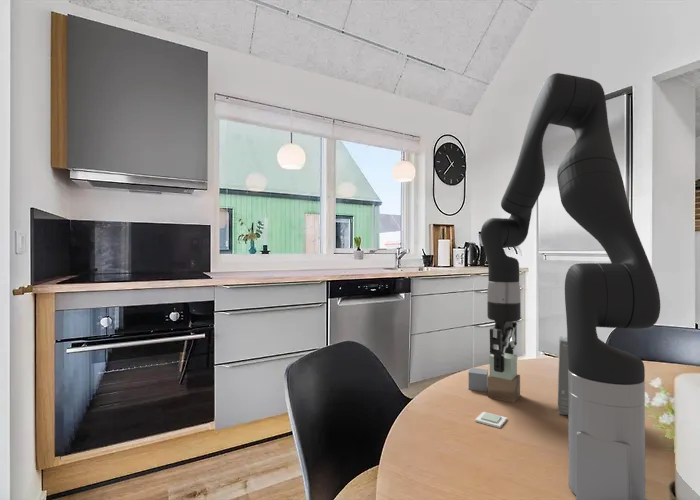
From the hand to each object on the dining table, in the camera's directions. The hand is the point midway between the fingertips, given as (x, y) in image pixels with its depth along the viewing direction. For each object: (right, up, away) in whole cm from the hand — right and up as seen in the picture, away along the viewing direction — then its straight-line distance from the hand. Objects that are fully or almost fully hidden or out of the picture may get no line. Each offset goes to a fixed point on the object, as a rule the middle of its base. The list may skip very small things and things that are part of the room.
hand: (504, 367), depth 94 cm
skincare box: (+13, -7, -10) cm, 17 cm away
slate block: (-4, -7, +6) cm, 10 cm away
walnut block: (0, -7, 0) cm, 7 cm away
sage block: (0, -2, 0) cm, 2 cm away
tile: (-8, -7, -14) cm, 18 cm away
